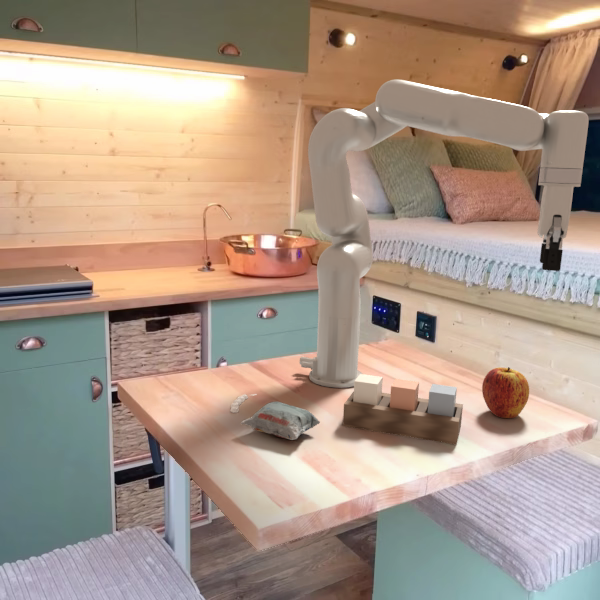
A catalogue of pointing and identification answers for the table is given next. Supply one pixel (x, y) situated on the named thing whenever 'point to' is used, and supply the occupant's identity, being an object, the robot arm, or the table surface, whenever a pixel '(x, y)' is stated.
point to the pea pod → (238, 403)
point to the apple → (505, 392)
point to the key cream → (368, 389)
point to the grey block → (442, 400)
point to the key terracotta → (404, 394)
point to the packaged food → (282, 420)
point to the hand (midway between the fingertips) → (549, 266)
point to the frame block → (403, 420)
